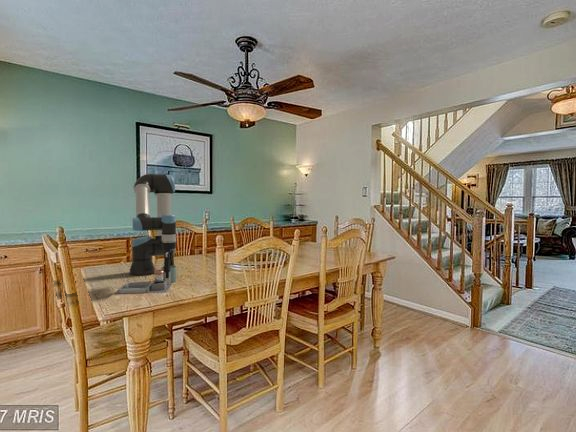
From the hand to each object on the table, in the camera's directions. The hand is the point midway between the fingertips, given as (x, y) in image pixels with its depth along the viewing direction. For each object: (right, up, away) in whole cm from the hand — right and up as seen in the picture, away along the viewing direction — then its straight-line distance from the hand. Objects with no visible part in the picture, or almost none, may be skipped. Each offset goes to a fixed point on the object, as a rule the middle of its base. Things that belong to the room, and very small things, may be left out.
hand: (169, 281), depth 179 cm
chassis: (-7, -2, -14) cm, 15 cm away
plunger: (0, +2, -13) cm, 13 cm away
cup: (0, -2, 0) cm, 2 cm away
